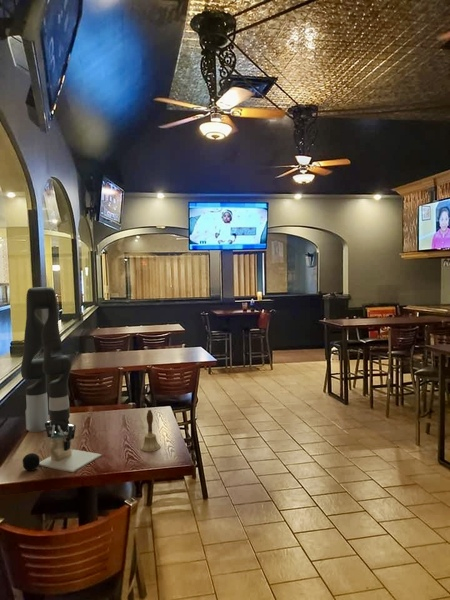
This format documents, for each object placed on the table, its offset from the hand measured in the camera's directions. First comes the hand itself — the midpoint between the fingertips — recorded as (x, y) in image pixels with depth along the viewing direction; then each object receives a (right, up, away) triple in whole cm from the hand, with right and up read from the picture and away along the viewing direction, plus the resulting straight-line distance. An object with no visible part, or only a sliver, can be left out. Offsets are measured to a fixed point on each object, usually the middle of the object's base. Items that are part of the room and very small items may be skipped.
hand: (61, 448), depth 181 cm
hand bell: (+34, -3, +9) cm, 35 cm away
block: (0, -3, 0) cm, 3 cm away
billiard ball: (-8, -5, -9) cm, 13 cm away
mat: (+4, -4, -1) cm, 6 cm away
